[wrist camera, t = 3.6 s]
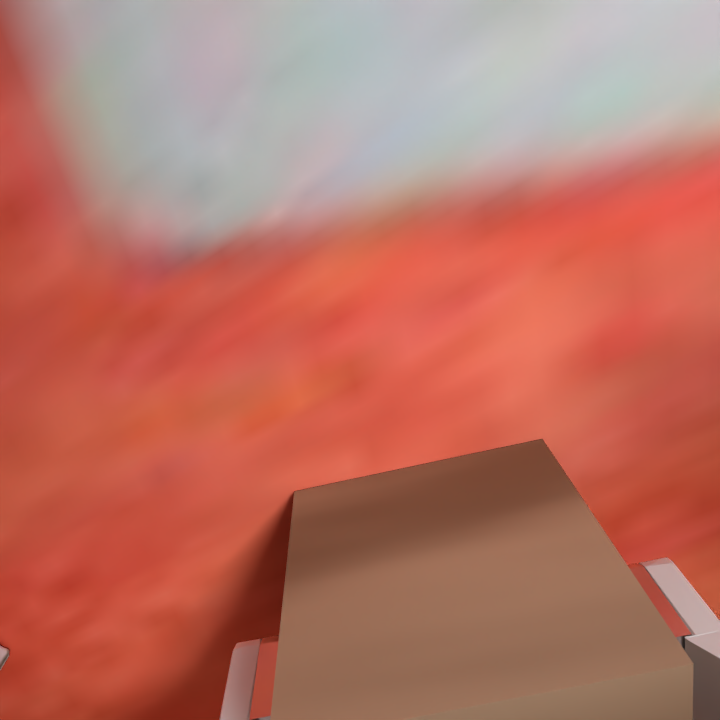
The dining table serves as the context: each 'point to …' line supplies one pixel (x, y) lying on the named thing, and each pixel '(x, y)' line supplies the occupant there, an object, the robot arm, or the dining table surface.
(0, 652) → the light bulb box
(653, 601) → the robot arm
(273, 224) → the dining table surface
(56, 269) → the dining table surface
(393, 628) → the walnut block
